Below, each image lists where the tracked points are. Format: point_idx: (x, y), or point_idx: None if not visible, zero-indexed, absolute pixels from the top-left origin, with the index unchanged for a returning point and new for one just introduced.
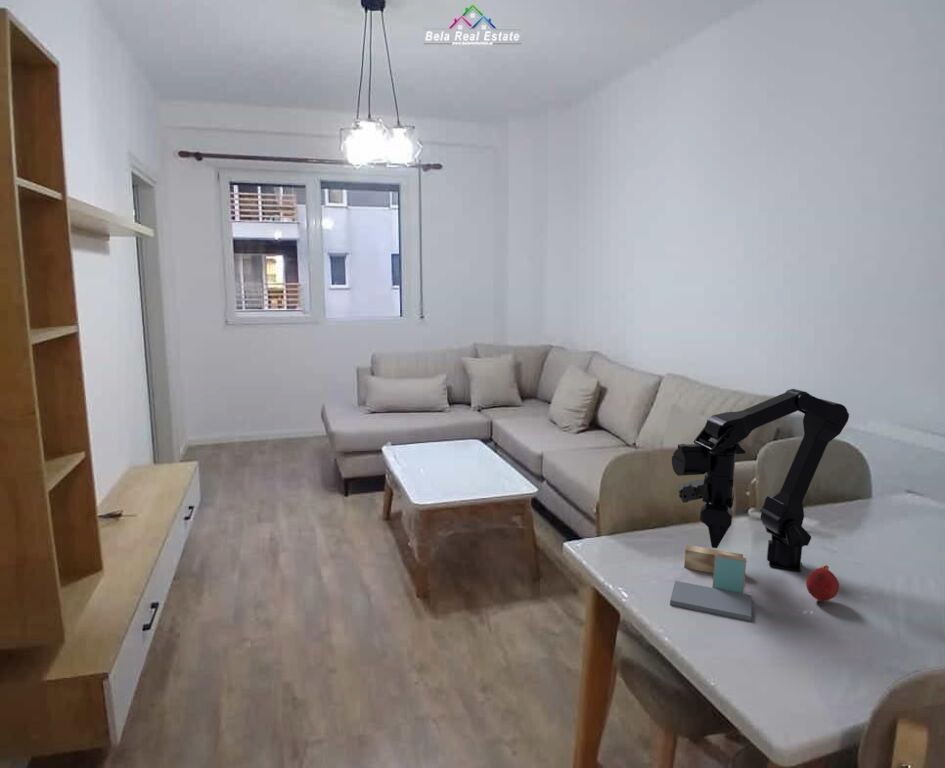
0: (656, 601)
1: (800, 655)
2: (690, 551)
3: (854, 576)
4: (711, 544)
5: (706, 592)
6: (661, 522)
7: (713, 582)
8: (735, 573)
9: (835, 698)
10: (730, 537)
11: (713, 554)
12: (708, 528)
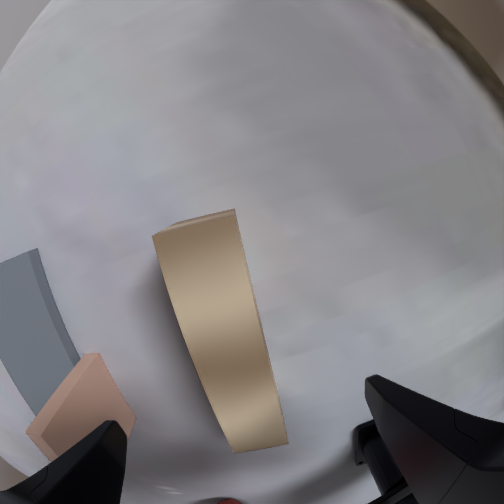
0: None
1: (45, 461)
2: (162, 264)
3: (373, 491)
4: (94, 430)
5: (39, 351)
6: (486, 68)
7: (72, 371)
8: None
9: (21, 465)
10: (498, 276)
11: (200, 373)
12: (13, 487)
